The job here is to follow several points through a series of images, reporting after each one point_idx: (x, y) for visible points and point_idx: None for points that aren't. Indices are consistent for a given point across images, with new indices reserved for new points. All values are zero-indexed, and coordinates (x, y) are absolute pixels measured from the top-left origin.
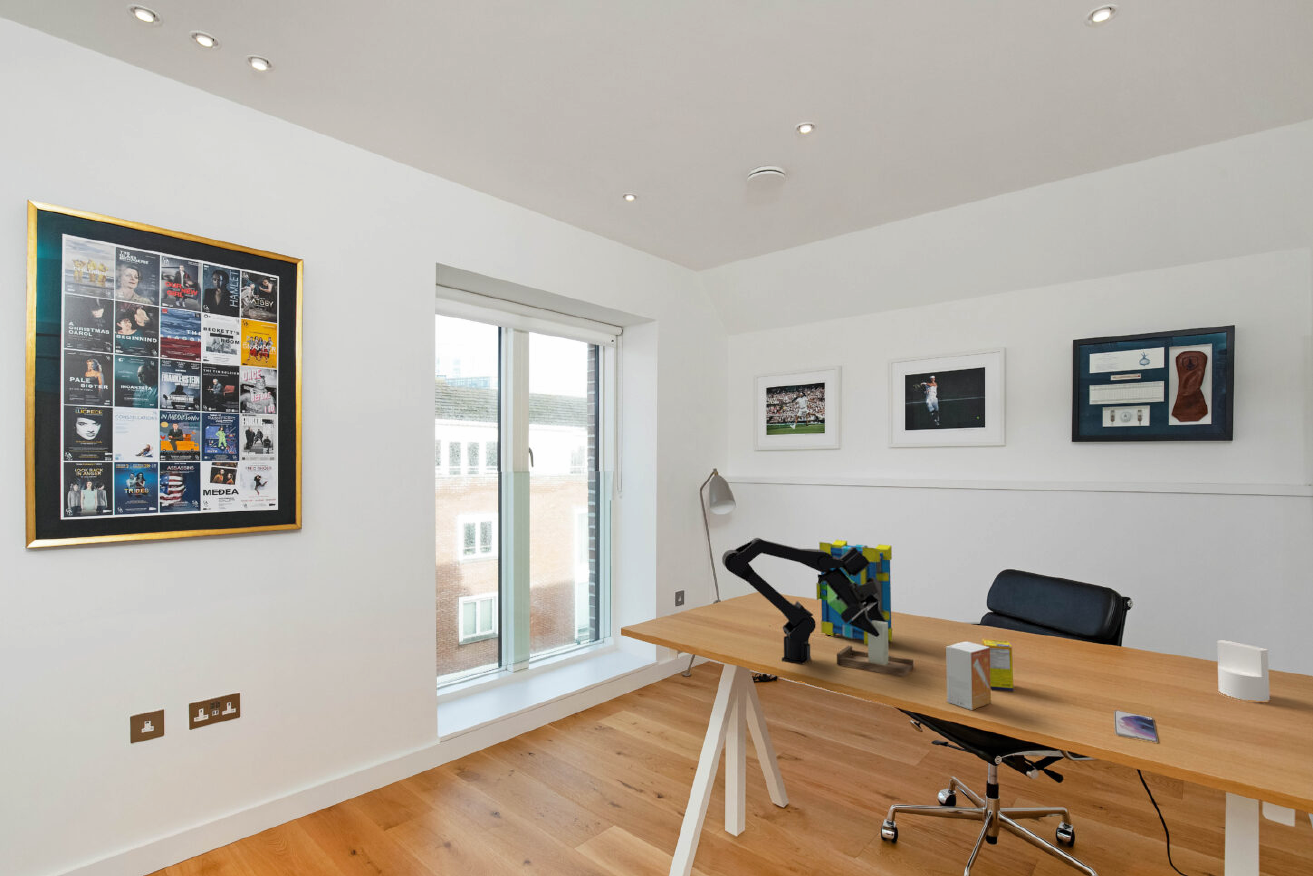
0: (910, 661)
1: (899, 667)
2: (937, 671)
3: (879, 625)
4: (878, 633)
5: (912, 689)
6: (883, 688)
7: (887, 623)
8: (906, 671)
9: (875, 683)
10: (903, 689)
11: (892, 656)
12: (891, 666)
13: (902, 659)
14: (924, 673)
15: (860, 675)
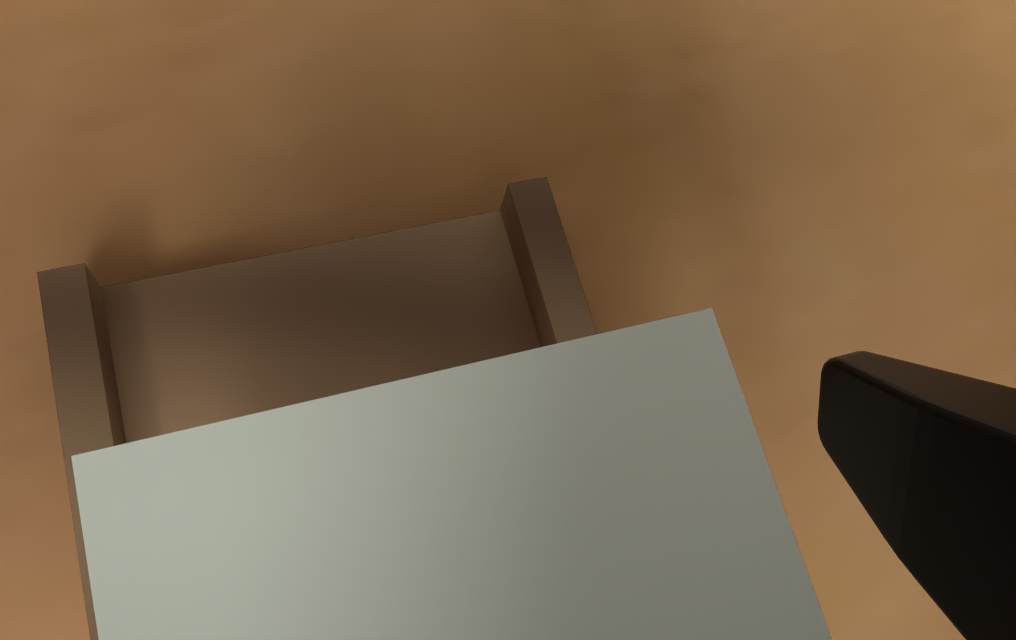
0: (95, 296)
1: (533, 245)
2: (19, 52)
3: (719, 423)
4: (880, 357)
5: (798, 18)
6: (1010, 209)
7: (133, 447)
8: (431, 225)
9: (967, 335)
10: (869, 72)
11: (86, 580)
12: (576, 336)
13: (106, 406)
14: (215, 124)
15: (902, 606)
